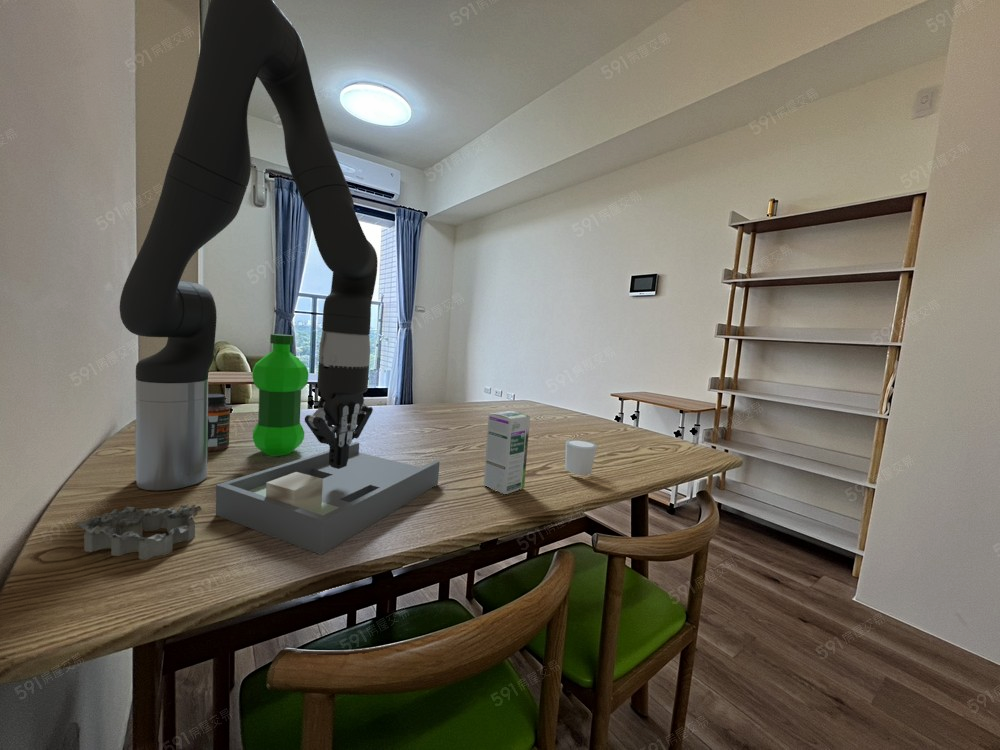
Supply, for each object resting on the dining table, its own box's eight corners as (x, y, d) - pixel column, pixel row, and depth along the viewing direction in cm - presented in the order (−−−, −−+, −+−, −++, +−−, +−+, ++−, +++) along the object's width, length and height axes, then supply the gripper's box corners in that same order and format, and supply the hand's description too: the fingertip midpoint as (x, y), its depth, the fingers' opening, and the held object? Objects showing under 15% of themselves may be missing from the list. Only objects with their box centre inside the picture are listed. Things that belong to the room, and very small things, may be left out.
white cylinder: (583, 468, 94) (586, 439, 93) (599, 479, 88) (603, 447, 87) (556, 469, 92) (560, 439, 91) (571, 480, 85) (575, 448, 85)
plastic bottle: (276, 463, 80) (280, 336, 77) (238, 453, 84) (241, 332, 81) (315, 450, 89) (320, 337, 87) (279, 442, 93) (283, 333, 90)
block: (265, 510, 56) (266, 482, 55) (295, 497, 60) (296, 471, 60) (293, 519, 54) (294, 490, 53) (321, 505, 59) (322, 478, 58)
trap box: (437, 484, 77) (439, 461, 76) (321, 554, 51) (322, 520, 50) (354, 463, 84) (355, 442, 83) (215, 514, 58) (216, 484, 58)
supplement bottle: (221, 452, 83) (222, 398, 82) (188, 451, 82) (188, 396, 81) (234, 444, 89) (235, 393, 88) (204, 443, 88) (204, 392, 87)
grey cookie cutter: (206, 535, 53) (206, 505, 53) (149, 566, 46) (150, 532, 46) (135, 522, 55) (135, 493, 54) (69, 551, 47) (68, 518, 47)
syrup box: (504, 496, 74) (512, 418, 72) (482, 485, 78) (488, 411, 76) (524, 489, 78) (531, 415, 77) (502, 479, 82) (508, 409, 81)
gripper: (355, 357, 72) (349, 452, 74) (291, 360, 59) (286, 473, 61) (390, 363, 69) (382, 461, 71) (331, 366, 57) (324, 485, 59)
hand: (338, 466), depth 66 cm, fingers closed
